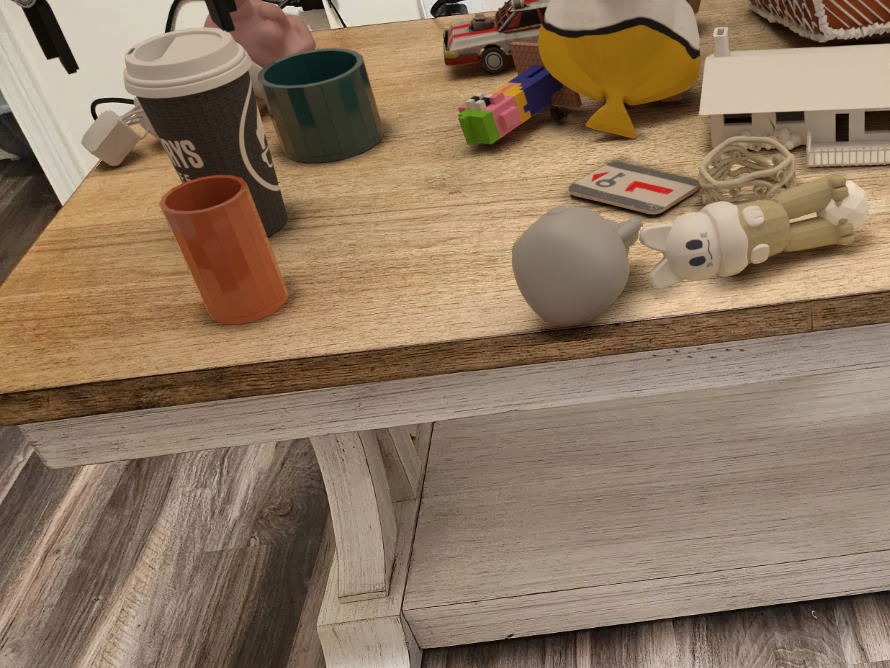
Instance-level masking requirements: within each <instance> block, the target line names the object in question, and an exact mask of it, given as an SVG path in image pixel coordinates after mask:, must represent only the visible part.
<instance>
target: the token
mask: <svg viewBox="0 0 890 668" xmlns="http://www.w3.org/2000/svg"><path fill="white" fill-rule="evenodd" d="M700 188H701V185H700V183H699V179H695V178H691V177H687V176H683V175H677V174H673V173H669V172H664V171H660V170H655V169H651V168H647V167H643V166H639V165H635V164H632V163H627V162H624V161H611V162H608V163H606V165H604V166H602V167H599V168H598V169H596V170H594V171H593V172H590V173H589V174H587V175H585V176H584V177H582V178H580V179H578V180H576V181H575V182H573V183H571V184H570V185H568V193H569V194H570V195H571V196H574V197H578V198H581V199H582V198H583V199H587V200H592V201H594V202H598V203H604V204H608V205H612V206H616V207H619V208H624V209H628V210H632V211H635V212H639V213H643V214H647V215H658V214H659V215H660V214H661V213H664V212H665V211H667V210H668V209H670V208H671V207H673V206H675V205H676V204H678V203H680V202H681V201H683V200H685V199H687V198H688V197H690V196H691V195H693V194H695V193H696V192H698V191H699V190H700Z"/></svg>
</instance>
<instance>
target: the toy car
mask: <svg viewBox="0 0 890 668" xmlns="http://www.w3.org/2000/svg"><path fill="white" fill-rule="evenodd" d="M549 2H550V0H508V1H504V2H503V5H502V6H501V7H498V8H497V9H498V10H497V11H496V12H495V14H494V15H491V16H485V13H476V14H475V13H474V17H473V18H472V19H469V20H464V21H458V22H452V24H450V26H449V28H444V29H443V30H442V38H443V42H442V44H443V45H442V46H443V47H442V48H443V49H442V50H443V53H442V55H443V60H444V61H443V62H444V64H445V65H446V66H448V67H456V66H464V65H470V64H477V63H479V62H481V64H482V66H483V68H484V70H486V71H488V72H489V73H492V74H499V73H500V72H503V70H505V68H506V66H507V56H509V55H512V53H511V50H510V47H509V44H510V43H511V42H527V43H538V38H539V32H540V27H541V24H542V21H543V17H544V14H545V12H546V9H547V6H548V4H549ZM482 50H483V51H482ZM481 51H482V52H481Z"/></svg>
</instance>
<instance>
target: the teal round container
mask: <svg viewBox="0 0 890 668" xmlns="http://www.w3.org/2000/svg"><path fill="white" fill-rule="evenodd" d="M257 80H258V83H259V86H260V89H261V91H262V94H263V97H264V100H263V101H264V102H265V105H266V106H265V107H266V108H267V111H268V114H269V117H270V119H271V123H272V125H273V128H274V132H275V134H276V136H277V139H278V143H279V145H280V148H282V152H283V154H284V155H285V157H287V158H288V159H290V160H292V161H295V162H300V163H305V164H306V163H308V164H319V163H329V162H335V161H341V160H345V159H348V158H352V157H354V156H358V155H360V154H362V153H364V152H366V151H368V150H370V149H372V148H374V147H375V146H377V145H378V143H380V142H381V141H382V140H383V138H384V136H385V135H384V134H385V131H384V127H383V123H382V119H381V116H380V112H379V109H378V105H377V102H376V98H375V94H374V91H373V87H372V84H371V81H370V78H369V73H368V69H367V66H366V63H365V59H364V56H363V55H362V54H361V53H359V52H358V51H356V50H351V49H348V48H340V47H339V48H338V47H337V48H336V47H330V48H327V47H326V48H317V49H316V48H315V50H310V51H304V52H299V53H296V54H292V55H288V56H285V57H283V58H280V59H278V60H276V61H273V62H272V63H270V64H268V65H267V66H265V67H264V68H263V69H262V70H261V71H260V72H259V73H258V79H257Z"/></svg>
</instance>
